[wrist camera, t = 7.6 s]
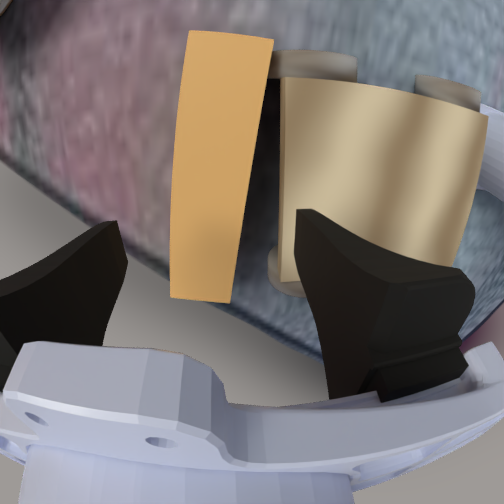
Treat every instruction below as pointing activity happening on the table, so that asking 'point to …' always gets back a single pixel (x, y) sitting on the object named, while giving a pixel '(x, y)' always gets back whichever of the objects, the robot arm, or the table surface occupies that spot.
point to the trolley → (374, 159)
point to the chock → (214, 159)
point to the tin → (4, 5)
